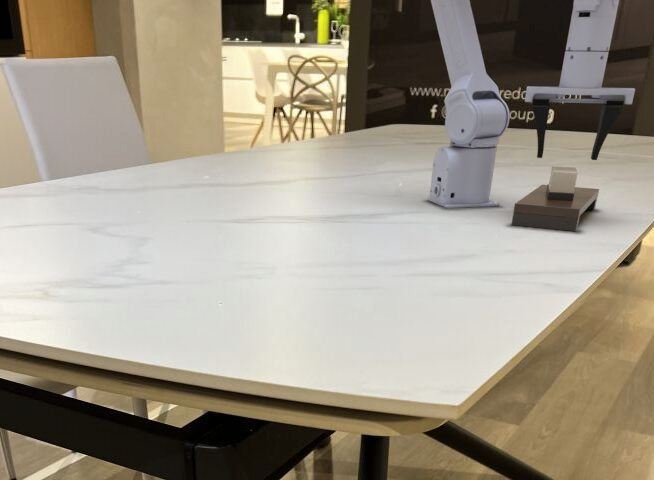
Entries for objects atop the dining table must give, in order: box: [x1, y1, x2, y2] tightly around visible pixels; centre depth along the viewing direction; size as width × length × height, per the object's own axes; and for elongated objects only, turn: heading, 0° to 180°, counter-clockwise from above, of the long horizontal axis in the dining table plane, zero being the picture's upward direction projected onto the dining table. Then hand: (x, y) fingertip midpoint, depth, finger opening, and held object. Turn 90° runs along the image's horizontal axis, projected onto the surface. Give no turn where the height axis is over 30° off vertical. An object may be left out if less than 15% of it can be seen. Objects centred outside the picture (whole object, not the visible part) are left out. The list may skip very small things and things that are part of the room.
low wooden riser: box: [511, 184, 600, 232], centre depth 114 cm, size 20×9×3 cm, turn 152°
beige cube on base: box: [546, 166, 578, 201], centre depth 112 cm, size 8×4×4 cm, turn 164°
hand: (566, 158), depth 110 cm, fingers open, 7 cm apart
